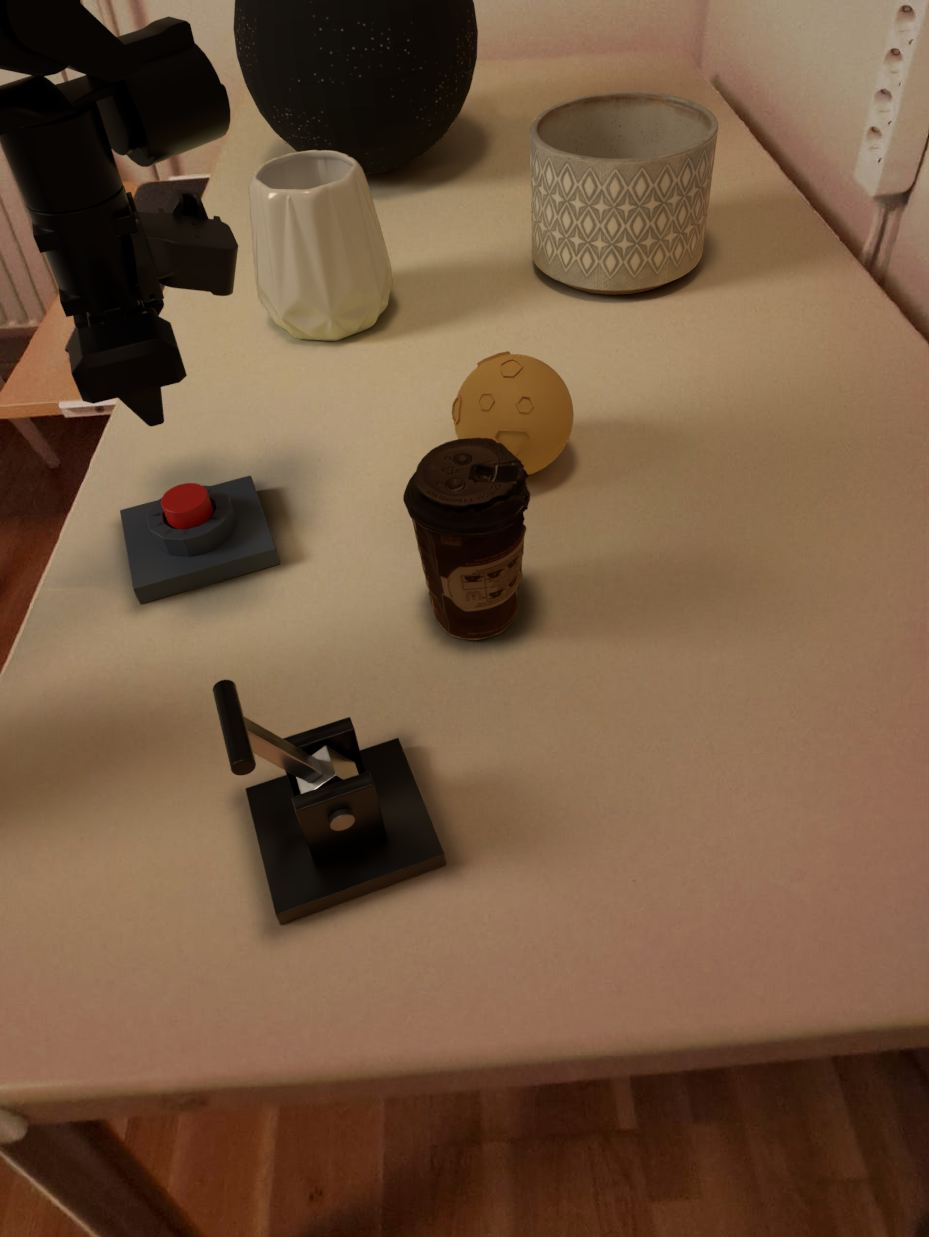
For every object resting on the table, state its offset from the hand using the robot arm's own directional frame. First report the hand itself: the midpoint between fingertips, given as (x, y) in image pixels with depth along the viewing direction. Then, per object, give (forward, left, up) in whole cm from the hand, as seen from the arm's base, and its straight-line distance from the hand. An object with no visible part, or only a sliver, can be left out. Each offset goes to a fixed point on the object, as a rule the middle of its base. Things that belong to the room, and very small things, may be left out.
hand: (154, 414), depth 67 cm
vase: (+19, +31, -13) cm, 39 cm away
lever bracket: (+4, -30, -12) cm, 33 cm away
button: (0, 0, -9) cm, 9 cm away
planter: (+51, +28, -13) cm, 60 cm away
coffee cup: (+18, -16, -13) cm, 27 cm away
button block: (0, 0, -12) cm, 12 cm away
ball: (+35, +68, -13) cm, 77 cm away
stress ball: (+27, -1, -13) cm, 30 cm away
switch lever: (+1, -30, -4) cm, 30 cm away
